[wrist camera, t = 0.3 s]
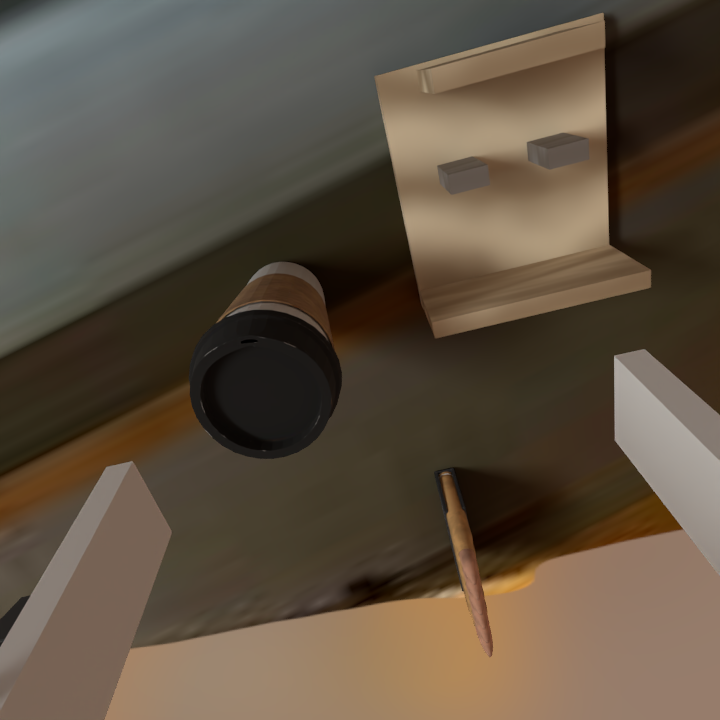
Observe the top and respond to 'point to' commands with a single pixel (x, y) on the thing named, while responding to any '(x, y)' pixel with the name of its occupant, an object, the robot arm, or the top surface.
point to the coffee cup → (268, 366)
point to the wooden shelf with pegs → (507, 178)
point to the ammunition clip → (464, 553)
